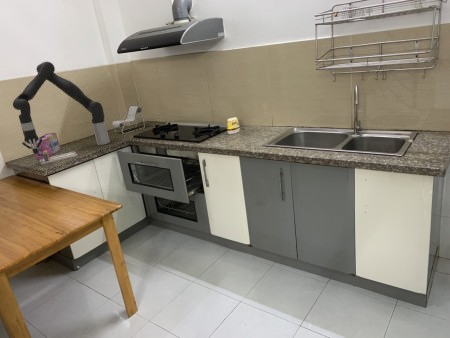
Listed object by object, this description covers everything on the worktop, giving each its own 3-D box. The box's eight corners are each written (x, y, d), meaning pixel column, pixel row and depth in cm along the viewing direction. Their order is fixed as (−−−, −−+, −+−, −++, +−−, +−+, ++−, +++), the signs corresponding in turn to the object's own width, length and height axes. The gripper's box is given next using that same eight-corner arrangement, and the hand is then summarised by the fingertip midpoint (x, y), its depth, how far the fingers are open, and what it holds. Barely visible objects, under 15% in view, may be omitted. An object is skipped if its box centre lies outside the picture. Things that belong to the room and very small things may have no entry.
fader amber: (48, 157, 253) (46, 150, 251) (49, 158, 250) (47, 151, 248) (45, 158, 252) (43, 151, 250) (45, 159, 249) (43, 152, 247)
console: (74, 152, 263) (74, 150, 262) (77, 155, 253) (77, 153, 252) (39, 160, 252) (39, 158, 251) (41, 164, 242) (40, 162, 241)
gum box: (46, 158, 256) (41, 140, 251) (35, 159, 256) (30, 141, 252) (60, 149, 278) (56, 132, 274) (51, 150, 279) (46, 133, 274)
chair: (145, 127, 320) (141, 106, 313) (121, 134, 304) (116, 112, 297) (138, 126, 329) (134, 105, 323) (113, 133, 313) (109, 111, 307)
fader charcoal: (48, 159, 247) (46, 152, 246) (48, 160, 244) (46, 153, 243) (44, 160, 246) (42, 153, 244) (45, 161, 243) (42, 154, 241)
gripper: (38, 126, 241) (45, 150, 247) (17, 130, 235) (24, 155, 241) (39, 127, 235) (46, 152, 241) (17, 132, 229) (25, 157, 235)
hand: (35, 153), depth 241 cm, fingers closed
